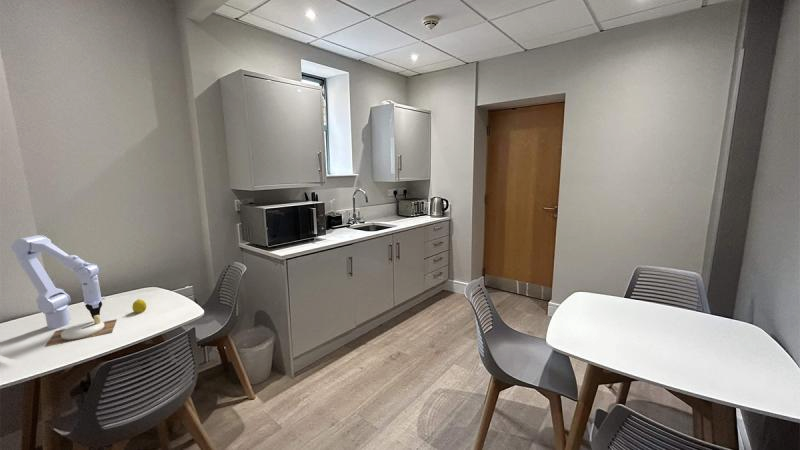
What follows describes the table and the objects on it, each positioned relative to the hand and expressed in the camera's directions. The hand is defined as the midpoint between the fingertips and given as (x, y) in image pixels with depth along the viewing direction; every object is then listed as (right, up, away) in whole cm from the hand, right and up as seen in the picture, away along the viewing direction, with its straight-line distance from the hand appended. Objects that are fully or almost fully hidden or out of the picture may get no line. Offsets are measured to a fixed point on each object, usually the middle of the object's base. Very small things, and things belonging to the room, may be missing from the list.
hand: (96, 318), depth 153 cm
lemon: (+10, -2, +14) cm, 17 cm away
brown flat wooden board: (+1, -6, -7) cm, 9 cm away
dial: (+1, -4, -7) cm, 9 cm away
